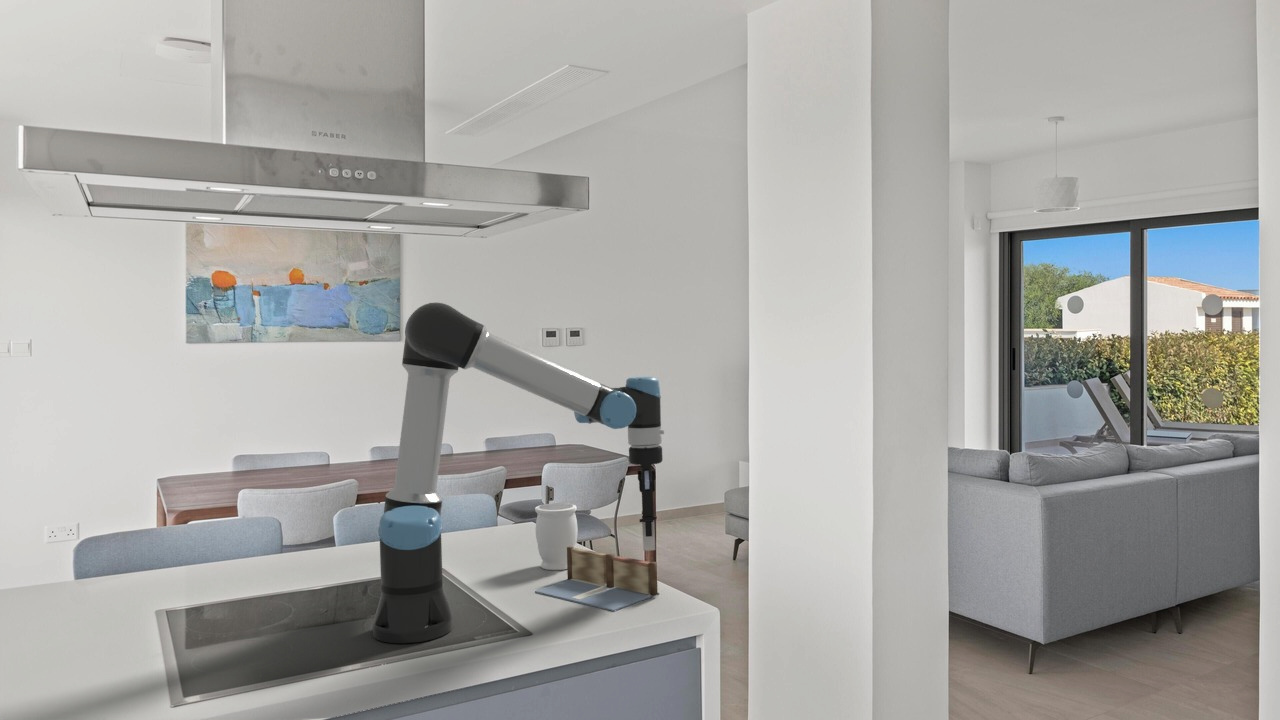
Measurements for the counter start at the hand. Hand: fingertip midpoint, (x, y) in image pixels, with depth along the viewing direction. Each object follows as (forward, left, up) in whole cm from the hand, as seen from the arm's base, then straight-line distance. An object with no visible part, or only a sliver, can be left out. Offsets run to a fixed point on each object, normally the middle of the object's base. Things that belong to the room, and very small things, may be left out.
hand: (649, 549), depth 197 cm
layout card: (-12, -3, -8) cm, 15 cm away
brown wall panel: (-13, +5, -8) cm, 16 cm away
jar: (-21, +22, -9) cm, 31 cm away
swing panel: (-4, -5, -8) cm, 10 cm away
